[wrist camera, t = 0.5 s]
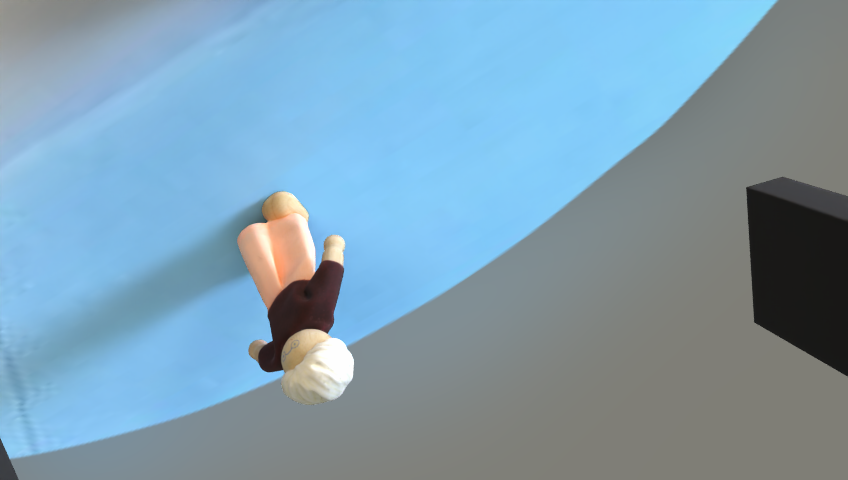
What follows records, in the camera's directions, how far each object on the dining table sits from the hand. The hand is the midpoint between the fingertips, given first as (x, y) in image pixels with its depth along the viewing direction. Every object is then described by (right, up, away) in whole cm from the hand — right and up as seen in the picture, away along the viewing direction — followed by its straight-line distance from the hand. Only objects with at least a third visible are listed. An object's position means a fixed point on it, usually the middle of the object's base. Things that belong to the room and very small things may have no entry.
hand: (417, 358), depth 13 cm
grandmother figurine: (-8, +2, +30) cm, 31 cm away
